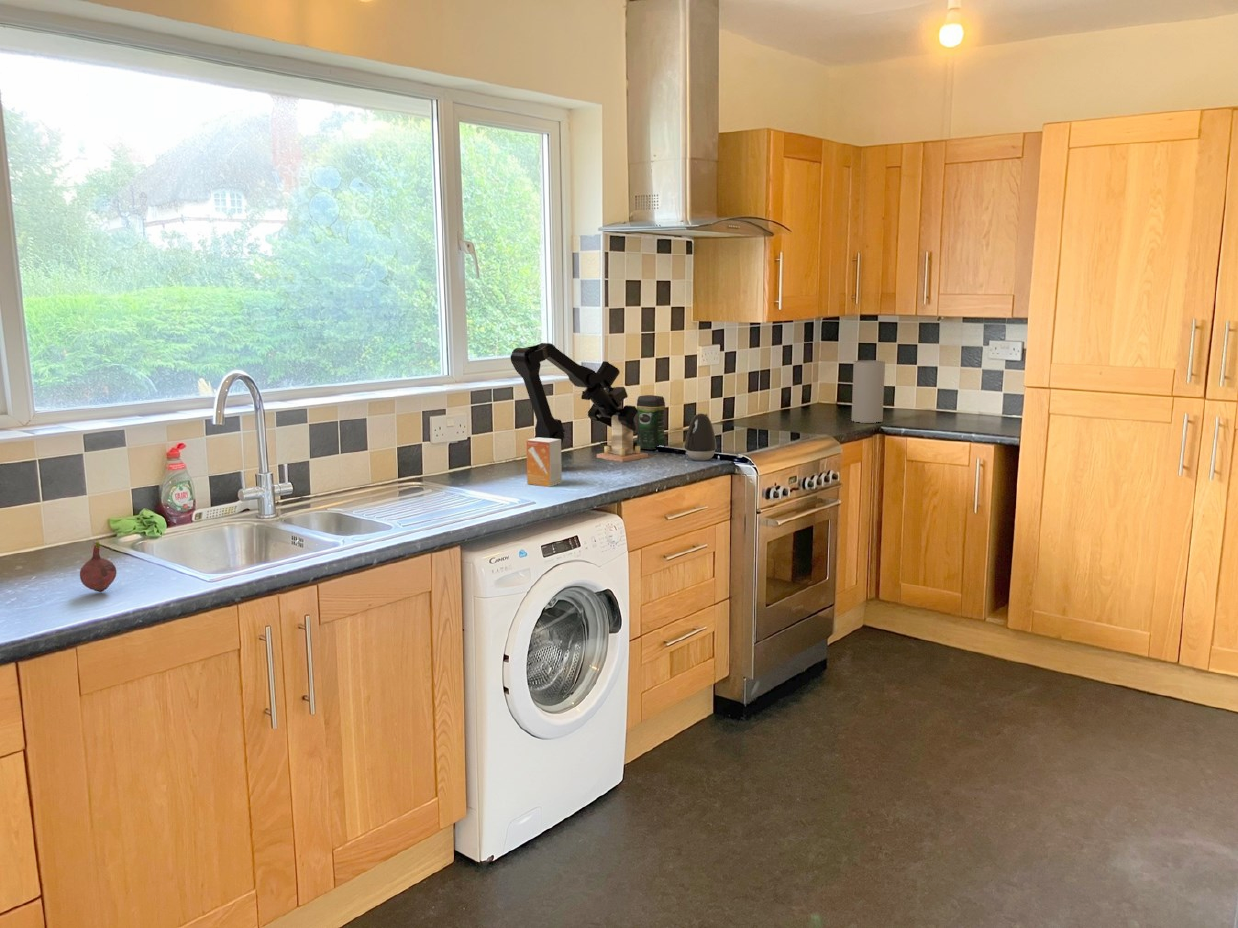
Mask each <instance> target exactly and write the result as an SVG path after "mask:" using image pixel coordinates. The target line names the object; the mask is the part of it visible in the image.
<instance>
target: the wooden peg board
mask: <svg viewBox="0 0 1238 928" xmlns="http://www.w3.org/2000/svg"><path fill="white" fill-rule="evenodd" d="M603 447H604V448H603V450H604V452H601V453H596V458H597V459H604V460H610V461H615V462H620V463H623V462H624V463H626V462H629V461H635V460H639V459H645V458H646V459H647V458H649V454H648V453H646V452H641V448H640V446H637V445H635V446H634V450H633V453H632V454H626V455H625V449H623V448H622V449H619V454H620V455H619V454H613V453H612V450H611V446H609V445H605V446H604V445H603Z"/></svg>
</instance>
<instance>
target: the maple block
mask: <svg viewBox="0 0 1238 928" xmlns="http://www.w3.org/2000/svg"><path fill="white" fill-rule="evenodd" d="M611 418H612V427H611V451H612V453H613V454H619V449H622V448H623V449H625V455H626V454H632V453H633V451H634V431H632V430H630V429H629V428H627V427H625V426H623V425H622V424H621V423H620V422H619V421H618V415H613V416H612V417H611ZM619 455H620V454H619Z"/></svg>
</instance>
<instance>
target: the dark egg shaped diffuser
mask: <svg viewBox="0 0 1238 928" xmlns="http://www.w3.org/2000/svg"><path fill="white" fill-rule="evenodd" d="M684 449H685V452H686V455H687V457H688V458H690V459H691V460H693V461H696V462H697V461H698V462H699V461H700V462H705V461H709V460H711V459H712V458H713V457H714V455H715V452H716V450H717V439H716V434H715V431H714V426H713V424H712V421H711V419H710V417H709V415H708V413H702V412H700V413H697V414H696V415H694V417H692V418H691V421H690V423H689V426H688V430H687V433H686V436H685V443H684Z"/></svg>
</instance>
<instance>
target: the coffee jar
mask: <svg viewBox="0 0 1238 928" xmlns="http://www.w3.org/2000/svg"><path fill="white" fill-rule="evenodd" d="M636 400H637V402H636V408H637V409H638V412H637V417H638V419H637V421H638V422H637V438H636V446H640V449H641V450H656V448H655V447H657V446H659V445H665V446H666V439H665V437H666V436H665V425H664V412H665V409H666V402H665V398H664V396H661V395H652V394H651V395H649V394H645V395H639V396H638V397H637V399H636Z"/></svg>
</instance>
